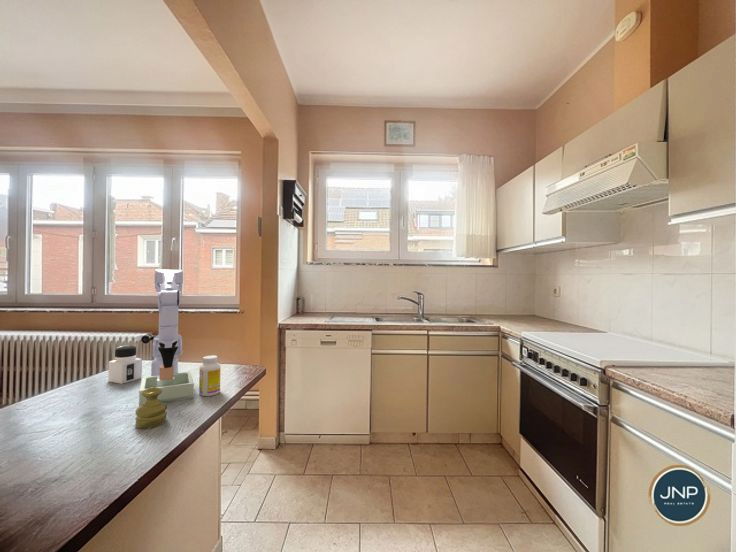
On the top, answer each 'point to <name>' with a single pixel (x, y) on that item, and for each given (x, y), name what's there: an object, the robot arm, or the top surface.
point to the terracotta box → (166, 372)
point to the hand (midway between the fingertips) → (167, 364)
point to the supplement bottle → (209, 376)
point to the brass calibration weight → (151, 410)
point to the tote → (170, 388)
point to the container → (125, 365)
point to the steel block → (165, 382)
